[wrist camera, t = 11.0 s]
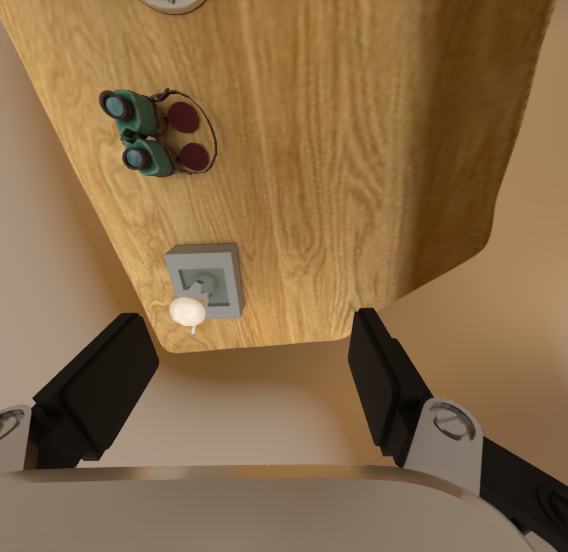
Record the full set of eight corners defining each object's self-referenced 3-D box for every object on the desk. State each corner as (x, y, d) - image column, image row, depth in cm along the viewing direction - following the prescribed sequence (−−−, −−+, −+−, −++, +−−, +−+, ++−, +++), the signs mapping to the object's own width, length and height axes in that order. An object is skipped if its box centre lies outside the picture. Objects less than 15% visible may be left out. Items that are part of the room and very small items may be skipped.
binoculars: (213, 171, 24) (117, 186, 24) (226, 169, 33) (157, 179, 33) (186, 59, 20) (69, 75, 20) (209, 93, 29) (130, 103, 29)
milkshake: (200, 300, 39) (175, 342, 30) (188, 272, 36) (156, 309, 27) (225, 295, 38) (208, 337, 29) (215, 267, 36) (192, 302, 27)
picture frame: (175, 245, 38) (163, 254, 34) (236, 243, 38) (230, 252, 34) (191, 305, 43) (182, 319, 39) (244, 304, 43) (240, 317, 39)
